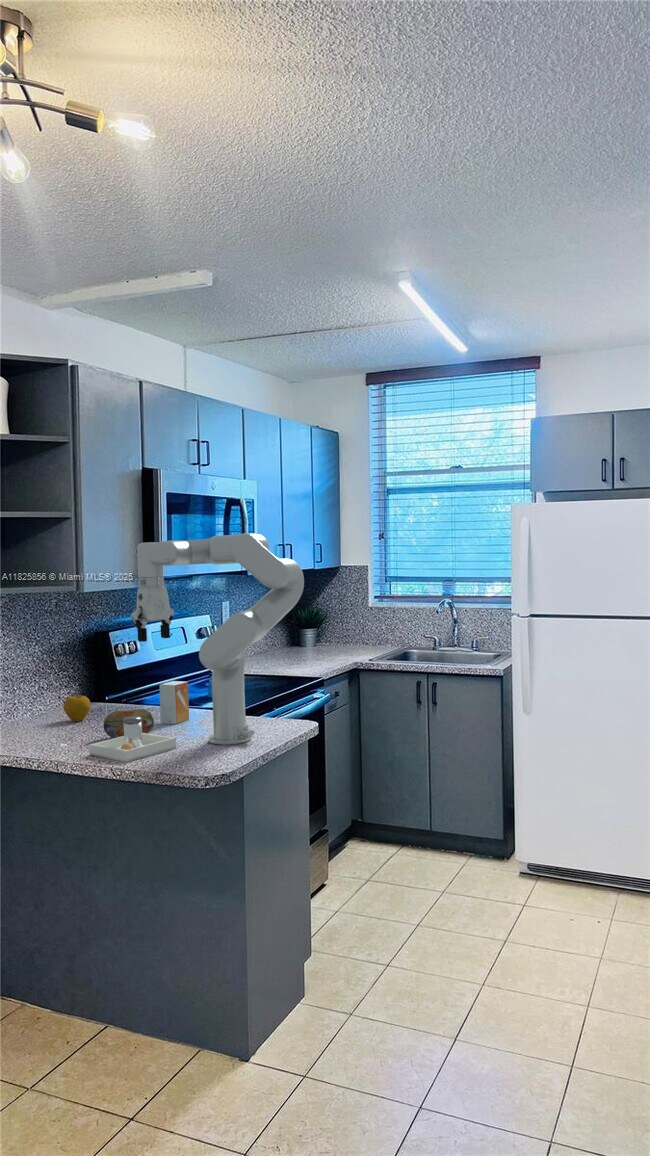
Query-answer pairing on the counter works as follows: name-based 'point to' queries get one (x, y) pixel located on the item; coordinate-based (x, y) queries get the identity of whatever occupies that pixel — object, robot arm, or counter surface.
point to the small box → (174, 702)
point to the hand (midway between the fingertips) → (154, 639)
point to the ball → (127, 746)
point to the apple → (77, 707)
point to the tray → (150, 747)
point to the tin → (116, 725)
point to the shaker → (133, 731)
